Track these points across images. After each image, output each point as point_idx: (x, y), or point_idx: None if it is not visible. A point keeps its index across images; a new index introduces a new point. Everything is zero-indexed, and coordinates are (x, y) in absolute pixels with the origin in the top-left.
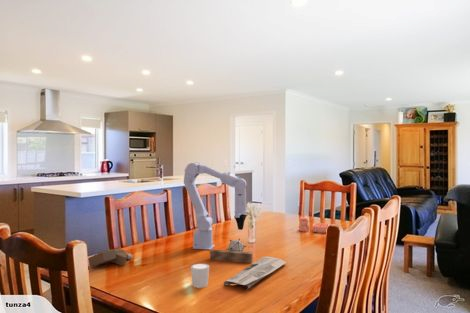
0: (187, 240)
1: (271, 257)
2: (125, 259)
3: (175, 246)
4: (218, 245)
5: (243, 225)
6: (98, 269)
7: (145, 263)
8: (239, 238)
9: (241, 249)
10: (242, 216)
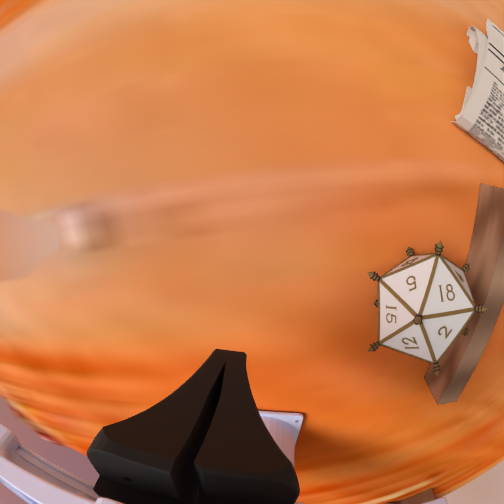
0: None
1: (483, 76)
2: (435, 498)
3: None
4: None
5: (208, 370)
6: None
7: (425, 477)
8: (419, 321)
9: (456, 265)
10: (245, 499)
